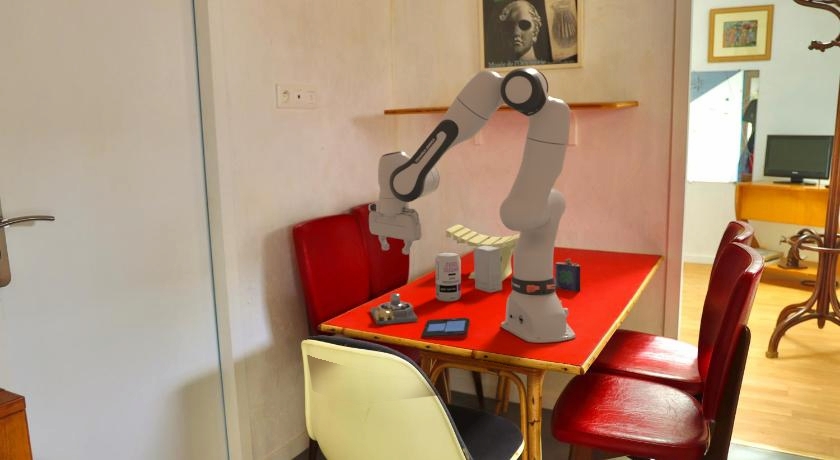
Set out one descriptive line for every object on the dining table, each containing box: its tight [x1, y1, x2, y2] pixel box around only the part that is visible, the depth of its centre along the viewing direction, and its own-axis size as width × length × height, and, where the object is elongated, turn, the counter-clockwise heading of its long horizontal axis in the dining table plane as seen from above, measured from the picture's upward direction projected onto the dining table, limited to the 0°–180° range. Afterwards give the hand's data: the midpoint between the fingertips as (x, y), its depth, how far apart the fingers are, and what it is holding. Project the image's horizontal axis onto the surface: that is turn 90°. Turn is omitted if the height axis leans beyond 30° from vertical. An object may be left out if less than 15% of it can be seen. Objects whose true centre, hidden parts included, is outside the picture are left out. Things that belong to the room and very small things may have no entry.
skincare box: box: [473, 245, 503, 293], centre depth 224 cm, size 8×6×15 cm
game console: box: [420, 317, 471, 340], centre depth 183 cm, size 14×13×2 cm
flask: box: [554, 258, 581, 293], centre depth 222 cm, size 9×3×11 cm, turn 50°
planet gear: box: [384, 292, 408, 311], centre depth 199 cm, size 7×7×5 cm
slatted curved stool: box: [445, 224, 520, 282], centre depth 245 cm, size 30×16×18 cm, turn 67°
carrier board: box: [369, 301, 419, 326], centre depth 197 cm, size 14×12×3 cm
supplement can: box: [434, 251, 462, 302], centre depth 214 cm, size 8×8×15 cm
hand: (395, 251), depth 197 cm, fingers open, 8 cm apart
